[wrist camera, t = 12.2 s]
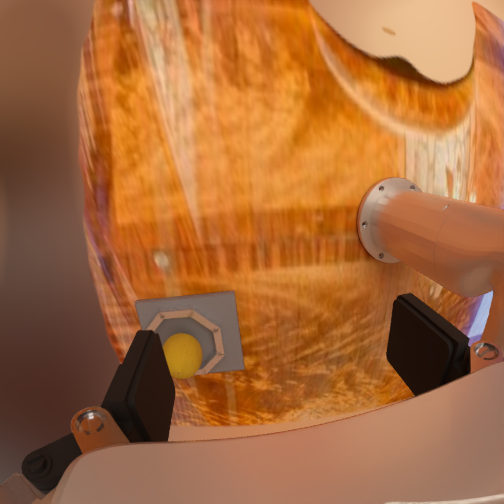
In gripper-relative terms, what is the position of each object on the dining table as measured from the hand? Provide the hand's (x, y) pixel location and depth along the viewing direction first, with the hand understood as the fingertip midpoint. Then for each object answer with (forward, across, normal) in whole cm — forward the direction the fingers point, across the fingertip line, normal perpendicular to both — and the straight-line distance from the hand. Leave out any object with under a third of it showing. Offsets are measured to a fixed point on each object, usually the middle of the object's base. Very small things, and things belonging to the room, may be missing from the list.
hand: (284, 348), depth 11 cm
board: (+28, +9, +16) cm, 34 cm away
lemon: (+28, +10, +16) cm, 33 cm away
